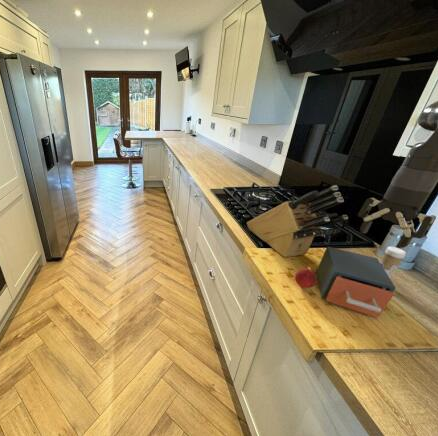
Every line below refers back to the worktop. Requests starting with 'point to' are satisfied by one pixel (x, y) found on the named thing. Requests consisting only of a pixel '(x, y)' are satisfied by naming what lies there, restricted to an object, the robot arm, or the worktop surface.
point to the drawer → (359, 295)
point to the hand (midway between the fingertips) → (380, 239)
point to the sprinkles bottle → (392, 259)
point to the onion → (305, 278)
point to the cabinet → (350, 269)
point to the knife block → (298, 222)
